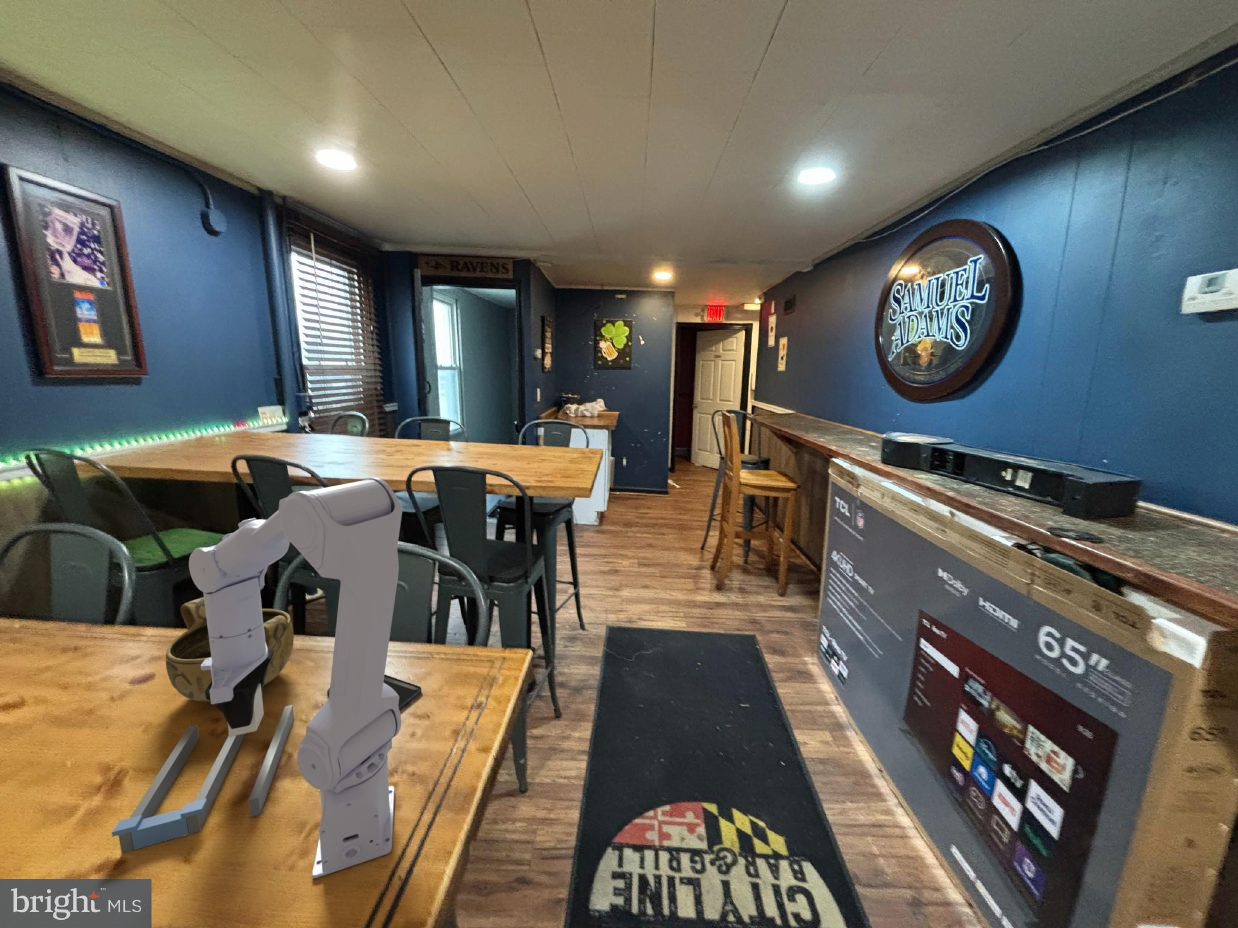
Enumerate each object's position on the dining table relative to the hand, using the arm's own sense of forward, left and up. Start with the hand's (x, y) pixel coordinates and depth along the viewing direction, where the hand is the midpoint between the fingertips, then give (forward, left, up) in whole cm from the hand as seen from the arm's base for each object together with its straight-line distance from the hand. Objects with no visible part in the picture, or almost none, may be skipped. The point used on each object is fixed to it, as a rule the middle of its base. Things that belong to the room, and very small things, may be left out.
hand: (246, 715), depth 64 cm
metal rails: (-1, +3, -8) cm, 8 cm away
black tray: (+10, -15, -8) cm, 20 cm away
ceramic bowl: (+20, +7, -8) cm, 23 cm away
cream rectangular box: (0, 0, -2) cm, 2 cm away
